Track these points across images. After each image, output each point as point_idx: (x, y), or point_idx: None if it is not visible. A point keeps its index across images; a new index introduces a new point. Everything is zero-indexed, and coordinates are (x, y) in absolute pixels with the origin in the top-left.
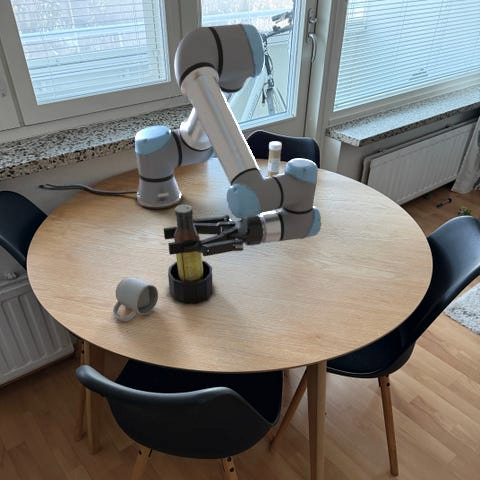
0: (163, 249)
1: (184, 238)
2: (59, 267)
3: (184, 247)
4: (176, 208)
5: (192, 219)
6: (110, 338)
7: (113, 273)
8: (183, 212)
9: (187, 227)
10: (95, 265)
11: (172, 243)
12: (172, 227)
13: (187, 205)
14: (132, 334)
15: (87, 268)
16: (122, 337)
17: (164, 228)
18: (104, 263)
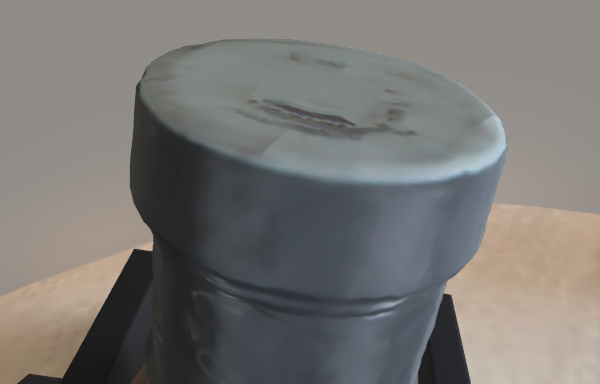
0: None
1: (135, 380)
2: (542, 250)
3: (30, 375)
4: (365, 52)
5: (215, 369)
6: (95, 283)
7: (499, 374)
8: (168, 53)
9: (150, 331)
10: (560, 332)
11: (136, 276)
12: (459, 365)
13: (451, 149)
14: (61, 340)
15: (537, 308)
16: (71, 311)
17: (444, 299)
18: (578, 362)
